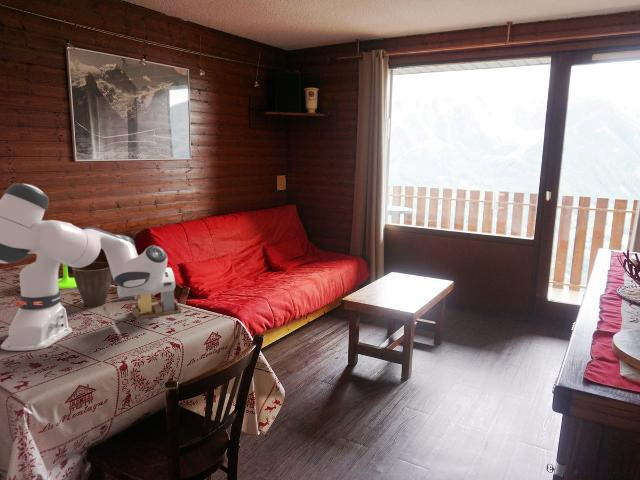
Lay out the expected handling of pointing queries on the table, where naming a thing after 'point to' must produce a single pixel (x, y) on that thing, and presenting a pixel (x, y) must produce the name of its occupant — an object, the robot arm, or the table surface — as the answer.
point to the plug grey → (167, 301)
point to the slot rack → (155, 310)
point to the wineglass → (66, 280)
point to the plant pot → (93, 282)
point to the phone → (123, 299)
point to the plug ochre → (144, 303)
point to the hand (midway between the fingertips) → (144, 296)
